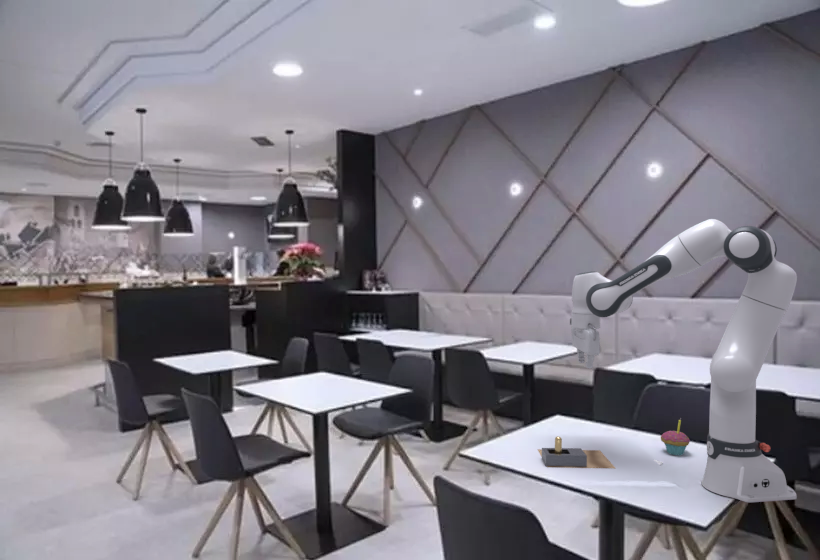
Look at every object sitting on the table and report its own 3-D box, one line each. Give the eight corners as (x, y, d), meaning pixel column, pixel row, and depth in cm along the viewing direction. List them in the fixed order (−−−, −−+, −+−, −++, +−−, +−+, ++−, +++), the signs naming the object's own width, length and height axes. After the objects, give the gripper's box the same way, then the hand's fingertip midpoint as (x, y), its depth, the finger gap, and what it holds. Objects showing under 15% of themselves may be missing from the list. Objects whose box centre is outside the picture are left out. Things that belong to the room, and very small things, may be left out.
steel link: (580, 459, 176) (581, 448, 176) (586, 467, 169) (586, 455, 169) (541, 458, 176) (541, 447, 176) (545, 466, 170) (546, 455, 170)
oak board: (599, 454, 184) (599, 450, 184) (615, 473, 168) (615, 468, 168) (537, 453, 185) (537, 449, 185) (547, 472, 169) (547, 467, 169)
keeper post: (560, 461, 174) (561, 435, 174) (562, 463, 172) (562, 437, 172) (554, 461, 174) (554, 435, 174) (555, 463, 172) (555, 437, 172)
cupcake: (695, 455, 184) (696, 418, 184) (675, 458, 181) (676, 421, 180) (674, 447, 192) (674, 412, 192) (654, 450, 189) (655, 414, 188)
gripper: (605, 326, 173) (604, 371, 173) (587, 319, 193) (586, 359, 193) (584, 325, 173) (583, 371, 173) (568, 318, 193) (567, 359, 194)
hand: (585, 365), depth 183 cm, fingers open, 8 cm apart
